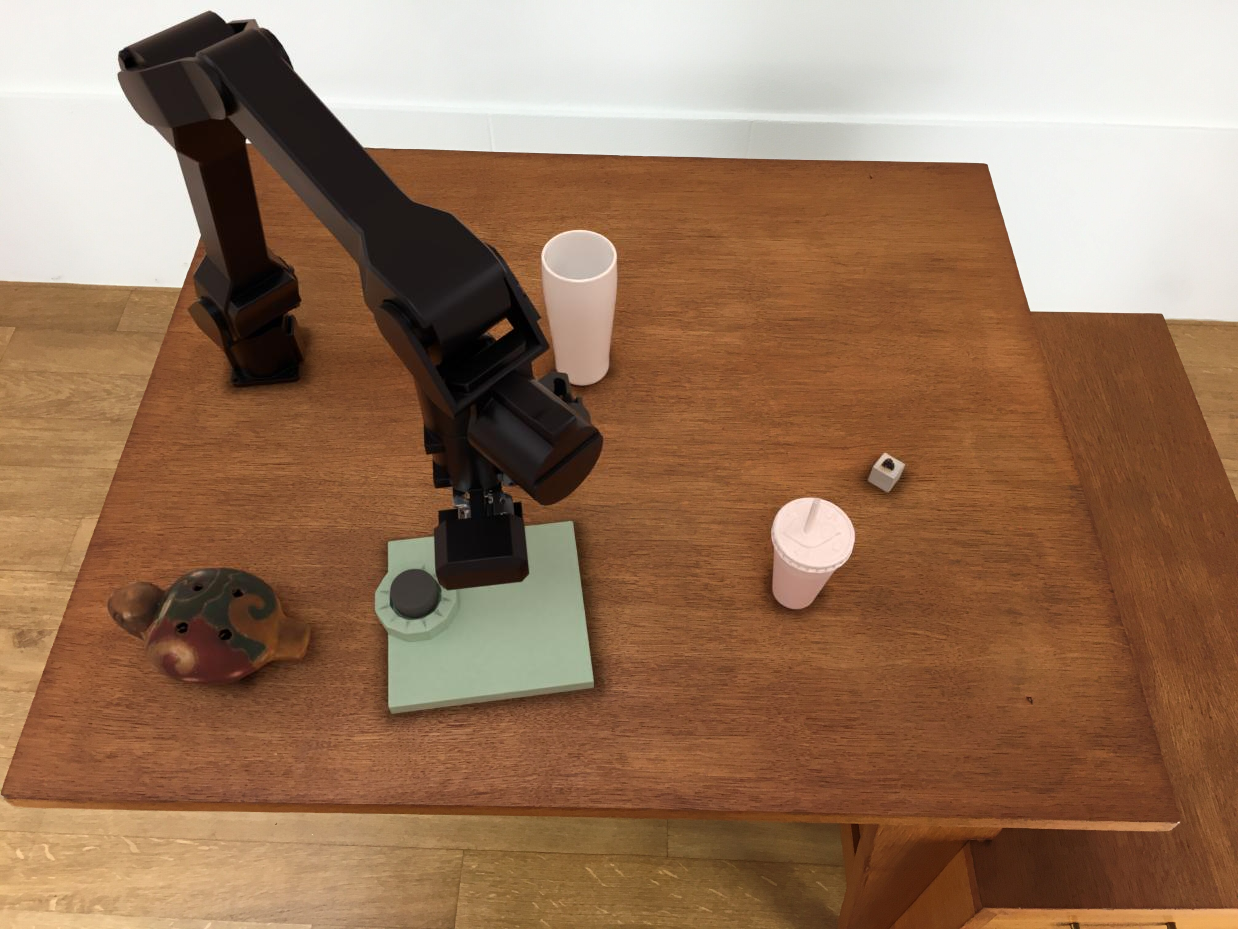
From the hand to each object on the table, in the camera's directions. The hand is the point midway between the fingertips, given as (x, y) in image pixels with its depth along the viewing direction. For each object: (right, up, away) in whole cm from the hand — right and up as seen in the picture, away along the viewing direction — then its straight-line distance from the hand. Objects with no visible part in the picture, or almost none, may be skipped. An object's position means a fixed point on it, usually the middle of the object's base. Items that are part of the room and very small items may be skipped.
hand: (487, 525), depth 77 cm
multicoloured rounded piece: (-21, -10, +2) cm, 24 cm away
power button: (-6, -6, +2) cm, 9 cm away
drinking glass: (+7, +14, +20) cm, 25 cm away
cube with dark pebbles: (+35, +3, +12) cm, 37 cm away
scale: (0, -8, +4) cm, 9 cm away
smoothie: (+25, -6, +6) cm, 27 cm away
